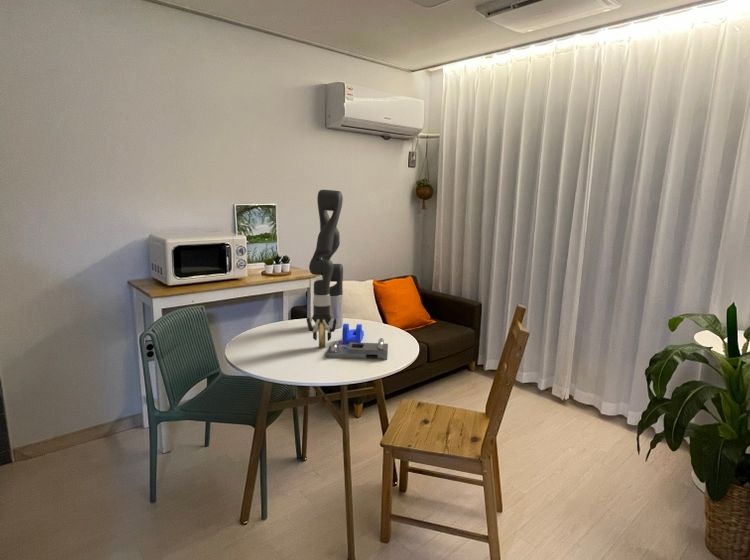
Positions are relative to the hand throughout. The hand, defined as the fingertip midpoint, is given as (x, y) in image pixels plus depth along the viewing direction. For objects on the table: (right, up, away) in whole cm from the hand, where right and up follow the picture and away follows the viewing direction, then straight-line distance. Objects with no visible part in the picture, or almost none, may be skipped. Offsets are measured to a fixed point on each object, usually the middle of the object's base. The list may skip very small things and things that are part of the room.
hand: (322, 339), depth 199 cm
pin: (0, -3, +1) cm, 3 cm away
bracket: (+14, -2, +14) cm, 19 cm away
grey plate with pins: (+16, -5, -8) cm, 19 cm away
